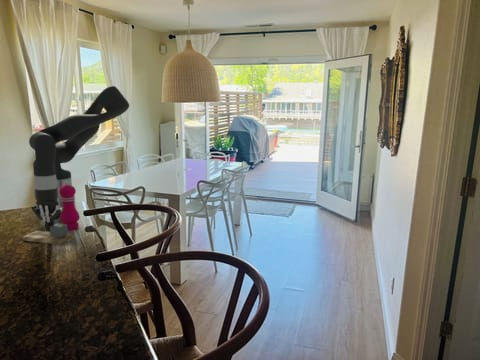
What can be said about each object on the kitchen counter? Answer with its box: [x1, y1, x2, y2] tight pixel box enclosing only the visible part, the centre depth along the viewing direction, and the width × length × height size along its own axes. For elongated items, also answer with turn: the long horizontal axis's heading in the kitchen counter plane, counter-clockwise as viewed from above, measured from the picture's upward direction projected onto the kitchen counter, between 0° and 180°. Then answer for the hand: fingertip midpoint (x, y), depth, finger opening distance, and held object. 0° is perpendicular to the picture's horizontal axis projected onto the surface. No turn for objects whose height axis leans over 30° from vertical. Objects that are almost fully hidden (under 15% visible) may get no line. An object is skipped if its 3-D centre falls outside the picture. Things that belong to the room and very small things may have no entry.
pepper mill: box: [59, 182, 80, 231], centre depth 146 cm, size 7×7×20 cm
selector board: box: [22, 230, 73, 245], centre depth 135 cm, size 16×7×2 cm, turn 78°
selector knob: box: [49, 222, 69, 238], centre depth 133 cm, size 4×4×4 cm
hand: (49, 230), depth 134 cm, fingers closed
